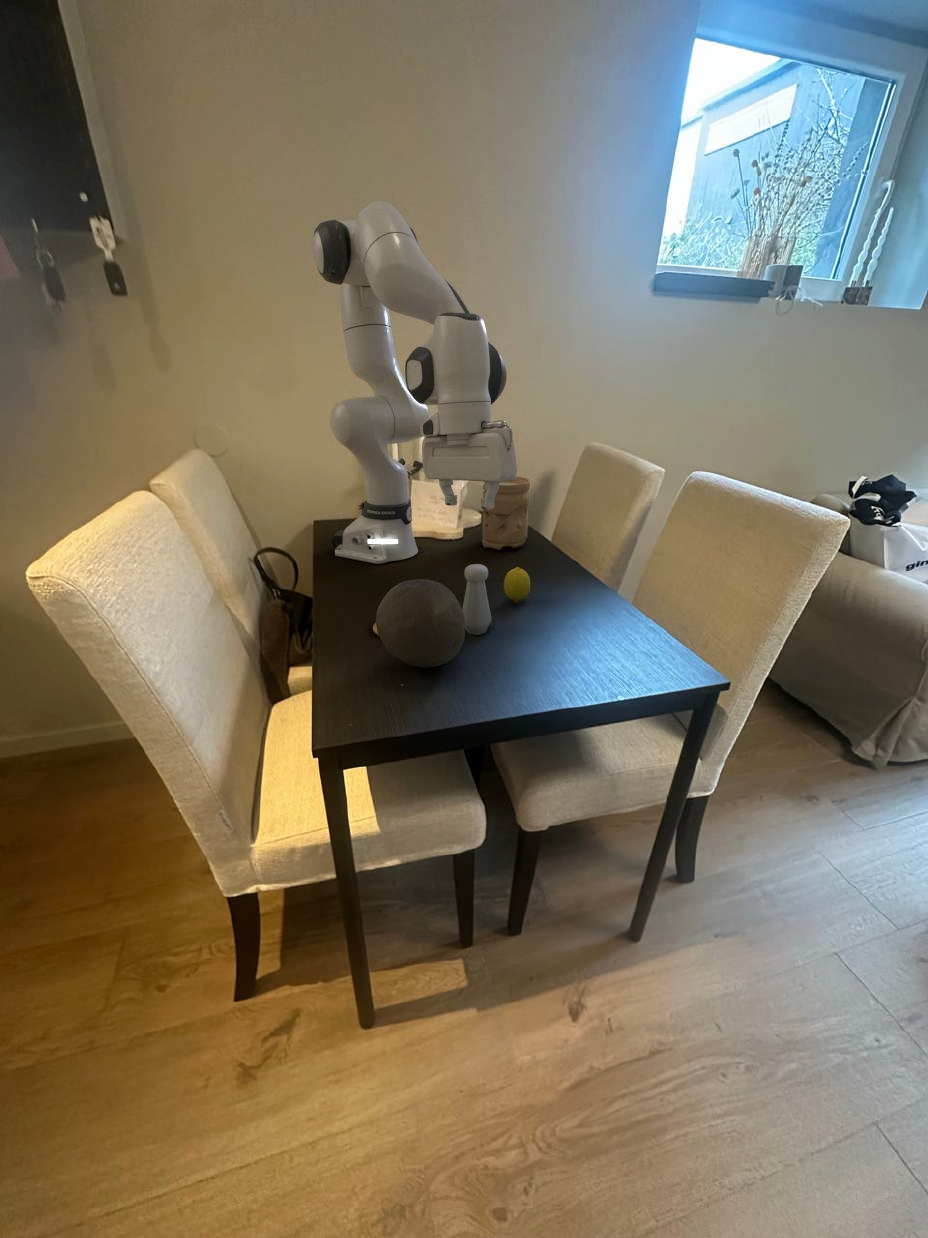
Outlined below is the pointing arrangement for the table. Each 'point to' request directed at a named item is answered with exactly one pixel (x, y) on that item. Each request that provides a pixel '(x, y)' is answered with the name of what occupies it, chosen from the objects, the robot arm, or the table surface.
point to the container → (507, 515)
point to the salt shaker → (476, 600)
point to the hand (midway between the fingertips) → (468, 506)
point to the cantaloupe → (421, 623)
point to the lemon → (517, 584)
